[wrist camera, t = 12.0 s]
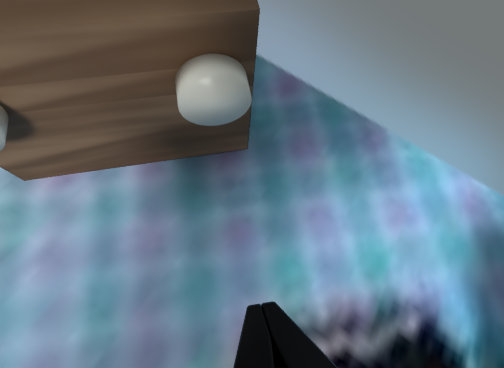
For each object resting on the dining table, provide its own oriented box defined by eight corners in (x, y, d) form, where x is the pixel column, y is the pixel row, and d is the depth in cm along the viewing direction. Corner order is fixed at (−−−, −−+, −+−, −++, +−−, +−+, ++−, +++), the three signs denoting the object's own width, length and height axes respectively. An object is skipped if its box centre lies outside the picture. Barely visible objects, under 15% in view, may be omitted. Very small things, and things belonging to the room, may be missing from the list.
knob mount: (247, 148, 25) (259, 9, 13) (24, 180, 23) (-211, 47, 11) (237, 101, 27) (240, -60, 15) (29, 127, 25) (-167, -39, 13)
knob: (249, 121, 18) (253, 74, 14) (184, 129, 17) (170, 83, 14) (228, 22, 21) (226, -38, 17) (171, 27, 20) (158, -34, 17)
